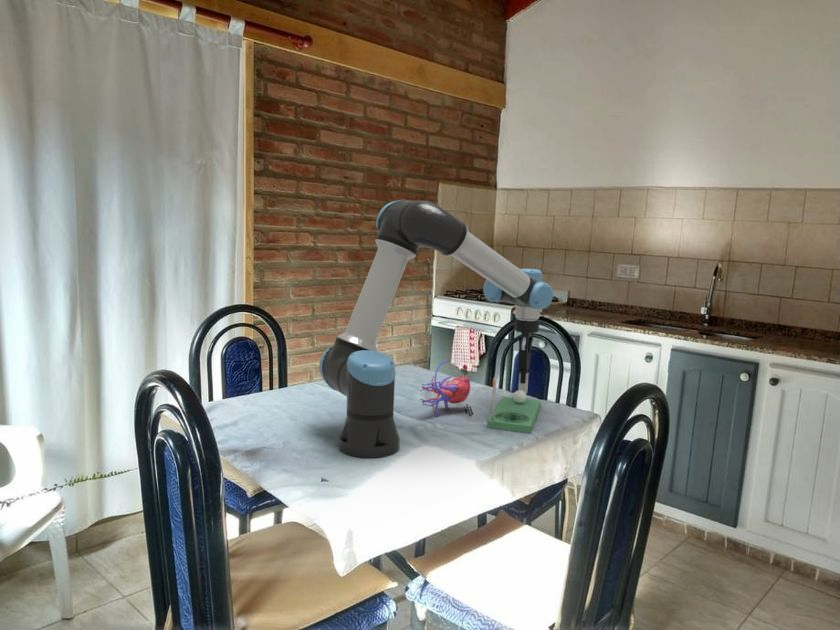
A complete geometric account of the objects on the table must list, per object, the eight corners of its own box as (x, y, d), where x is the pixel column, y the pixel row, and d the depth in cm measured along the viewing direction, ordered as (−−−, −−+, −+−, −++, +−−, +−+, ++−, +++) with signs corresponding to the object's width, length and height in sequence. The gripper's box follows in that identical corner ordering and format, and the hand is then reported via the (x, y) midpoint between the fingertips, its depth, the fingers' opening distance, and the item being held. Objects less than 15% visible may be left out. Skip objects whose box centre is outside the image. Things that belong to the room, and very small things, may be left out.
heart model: (484, 416, 193) (439, 416, 179) (459, 417, 200) (414, 417, 186) (482, 359, 196) (437, 356, 182) (457, 362, 203) (413, 359, 188)
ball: (525, 405, 195) (525, 392, 194) (511, 404, 196) (512, 391, 195) (526, 402, 199) (527, 389, 198) (513, 400, 200) (514, 388, 199)
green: (529, 434, 175) (533, 384, 173) (486, 429, 178) (488, 379, 176) (540, 407, 201) (543, 363, 198) (502, 402, 204) (504, 359, 202)
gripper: (537, 323, 193) (532, 399, 196) (541, 316, 205) (536, 388, 209) (512, 321, 195) (507, 396, 198) (518, 315, 207) (513, 386, 211)
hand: (522, 392), depth 204 cm, fingers closed
